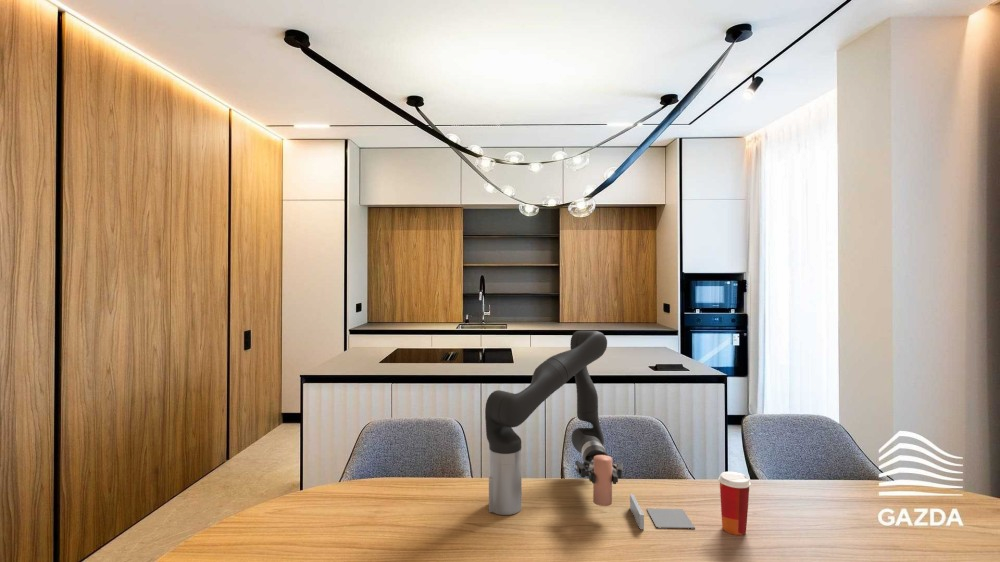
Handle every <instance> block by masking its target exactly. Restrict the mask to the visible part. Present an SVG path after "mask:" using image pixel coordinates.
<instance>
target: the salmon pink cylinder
mask: <svg viewBox="0 0 1000 562" xmlns="http://www.w3.org/2000/svg"><path fill="white" fill-rule="evenodd" d="M612 462H613V457H612V456H609V455H608V456H606V455H596V456H594V474H595V484H593V483H592V484H593V490H592V495H593V496H592V499H593V500H592V502H593V504H595V505H597V506H600V507H609V506H612V504H613V482H612Z"/></svg>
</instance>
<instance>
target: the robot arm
mask: <svg viewBox="0 0 1000 562" xmlns="http://www.w3.org/2000/svg"><path fill="white" fill-rule="evenodd" d="M607 347H608V338H607V337H606V335H605V334H604V333H603V332H601V331H597V330H576V331H575V332H573V334H572V336H571V338H570V349H569V350H565V351H563V352H560V353H557V354H554V355H552V356H550V357H548V358H547V359H545V360H544V361H543V362H542V363H540V364H539V365H538V366H537V367H536V368H535V369H534V371H533V373H532V377H531V382H530V384H529V385H528V386H527V387H526V388H524V389H523V390H521V391H519V392H517V393H513V392H509V391H505V390H494V391H492V392H491V393H490V394H489V395H488V397H487V400H486V403H485V408H484V414H485V415H484V416H485V417H484V419H485V432H486V436H485V437H486V439H487V442H488V450H489V452H488V454H489V455H488V460H489V467H488V468H489V469H488V471H489V472H488V474H489V475H488V513H493V514H496V515H498V516H499V515H501V516H511V515H514V514H515V515H516V514H518V513H519V512H521V510H522V508H523V507H522V505H523V504H522V503H523V498H522V495H523V494H522V493H523V492H522V484H523V483H522V480H523V479H522V476H523V475H522V439H521V437H520V436H519V435H518V434H517V433H516V432H515V431H514V430H513V428H517V427H519V426H520V425H522V424H523V423H524V422H525V421H526V420H527V419H528V418H529V417H530V416H531V415H532V414H533V413H534V412H535V410H537V409H538V408H539V407H540V405H541V404H542V403H543V402H545V400H547V399H548V398H549V397H550V396H552V394H554V393H555V392H557V391H558V390H559V389H560V388H561V387H563V386H564V385H565V384H566V383H568V381H570V380H571V379H573V377H574V379H575V386H576V416H577V419H578V420H579V421H582V422H585V423H589V424H591V426H592V427H577V428H575V429H574V430H573V431H572V433H571V444H572V445H573V448H574V449H575V450H576V451H577V452H578V453H579V454H581V460H582V461H583V462H580V461H579V460H575V461H574V467H575V468H574V471H575V472H576V473H577V474H578V475H579V476H580V477H581V478H582V479H583V478H584V479H585V478H586V477H587V479H588V481H589V482H591V483H592V484H595V474H594V456H596V455H606V456H609V455H608V453H607V450H606V448H605V447H604V444H605V443H604V442H605V438H604V434H603V430H602V427H601V424H600V418H599V396H598V391H597V389H596V386H595V384H594V382H593V380H592V379H591V376H590V373H589V369H588V367H587V366H589V365H590V364H592V363H594V362H595V361H597V360H598V359H600V358H601V357H602V356H603V355H604V354H605V352H606V350H607ZM623 467H624V465H623V462H622V461H619V462H617V463H614V462H613V461H612V485H617V483H619V479H623V473H624V472H623V470H624V469H623Z"/></svg>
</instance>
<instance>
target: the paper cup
mask: <svg viewBox="0 0 1000 562" xmlns="http://www.w3.org/2000/svg"><path fill="white" fill-rule="evenodd" d="M717 481H718V482H719V491H720V494H719V495H720V511H721V514H720V515H721V527H722V529H723V531H724V532H726V533H727V532H728V534H730V535H733V534H734V535H733V536H744V535H745V534H746V532H747V525H748V523H747V521H748V512H749V511H748V510H749V501H750V500H749V498H750V497H749V495H750V487H751V485H752V484H751V481H750V479H749V478H748V477H747V476H746V475H745V474H744V473H740V472H736V471H723V472H721V473H720V475H719V477H718V479H717ZM743 534H744V535H743Z"/></svg>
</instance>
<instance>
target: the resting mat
mask: <svg viewBox="0 0 1000 562" xmlns="http://www.w3.org/2000/svg"><path fill="white" fill-rule="evenodd" d="M646 511H647V514H648V515H649V517H650V516H651V517H650V519H651V518H652V519H651V520H653V521H652V523H653V522H654V523H653V524H655V525H654V527H655V526H656V527H661V528H660V529H667V528H688V529H687V530H695V529H696V527H695V525H694V524H693V522H692V521H691V520H690V517H689V516H688V515H687V513H686V512H685V510H684V509H683V508H646ZM656 527H655V528H656ZM689 528H691V529H689Z"/></svg>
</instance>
